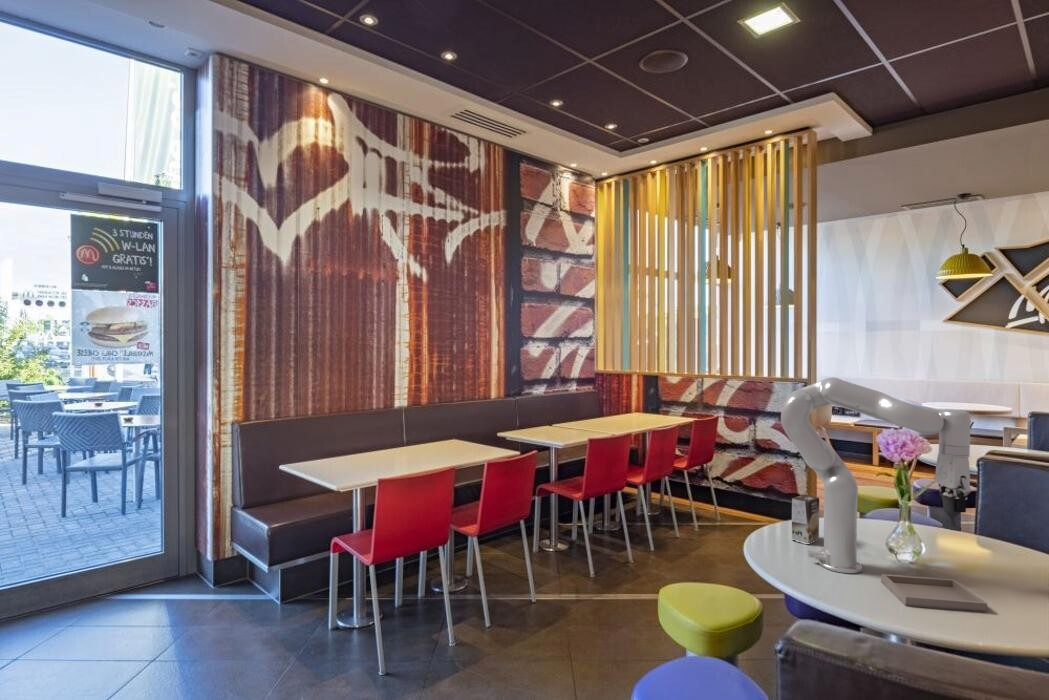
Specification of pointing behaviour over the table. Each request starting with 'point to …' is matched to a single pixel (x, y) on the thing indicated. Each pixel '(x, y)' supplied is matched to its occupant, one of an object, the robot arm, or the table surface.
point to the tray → (933, 593)
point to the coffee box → (805, 518)
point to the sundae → (949, 507)
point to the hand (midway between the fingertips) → (952, 508)
